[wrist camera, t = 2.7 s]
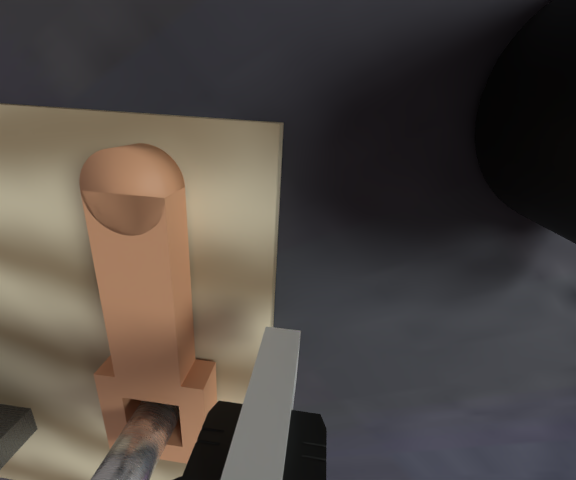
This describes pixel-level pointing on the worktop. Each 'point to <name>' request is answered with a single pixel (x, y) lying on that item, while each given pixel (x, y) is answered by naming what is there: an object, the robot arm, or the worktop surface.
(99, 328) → the board
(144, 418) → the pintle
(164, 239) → the link
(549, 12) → the mug
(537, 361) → the worktop surface
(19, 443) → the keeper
